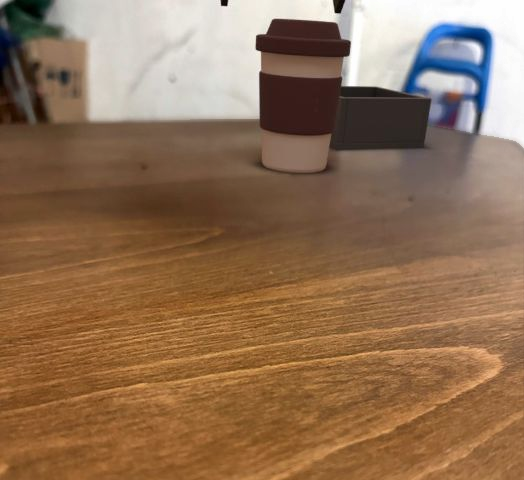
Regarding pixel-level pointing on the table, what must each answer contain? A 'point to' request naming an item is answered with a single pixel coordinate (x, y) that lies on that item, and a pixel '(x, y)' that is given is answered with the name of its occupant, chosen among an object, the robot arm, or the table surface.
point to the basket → (379, 119)
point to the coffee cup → (299, 92)
